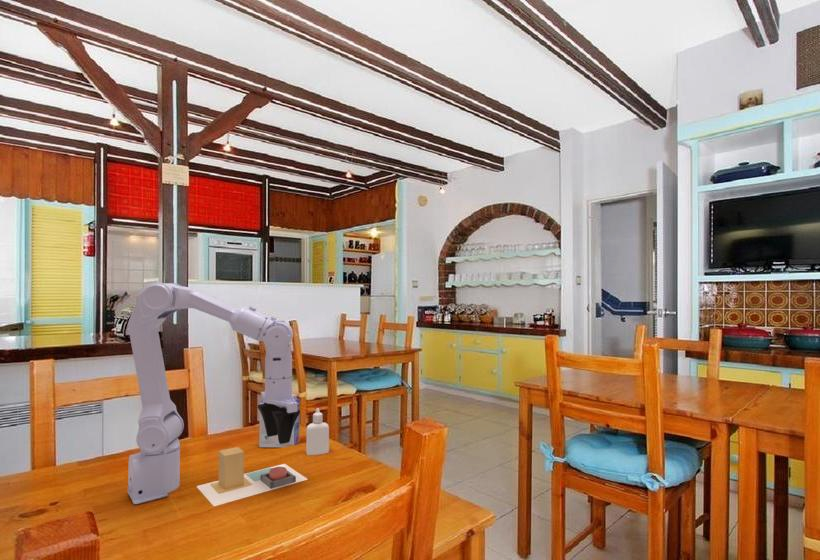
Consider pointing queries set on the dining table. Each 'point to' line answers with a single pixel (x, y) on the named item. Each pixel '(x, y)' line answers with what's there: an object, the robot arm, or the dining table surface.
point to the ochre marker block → (231, 468)
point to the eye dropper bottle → (317, 435)
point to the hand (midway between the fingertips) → (278, 439)
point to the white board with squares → (249, 486)
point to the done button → (277, 473)
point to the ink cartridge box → (273, 440)
